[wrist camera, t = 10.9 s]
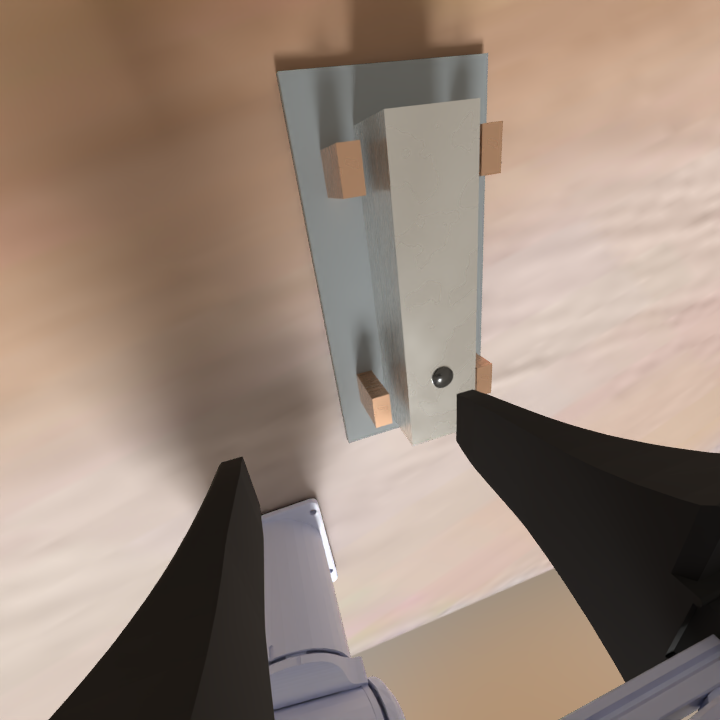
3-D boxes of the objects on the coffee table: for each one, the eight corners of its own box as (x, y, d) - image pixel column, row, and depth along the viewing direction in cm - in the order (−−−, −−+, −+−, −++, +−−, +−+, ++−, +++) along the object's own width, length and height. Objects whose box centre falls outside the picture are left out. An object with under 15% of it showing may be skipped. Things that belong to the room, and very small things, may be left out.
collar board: (475, 398, 26) (505, 425, 23) (347, 438, 24) (362, 473, 21) (481, 56, 17) (533, 28, 14) (276, 74, 15) (285, 45, 12)
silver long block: (353, 126, 16) (384, 108, 13) (431, 116, 17) (482, 97, 14) (387, 409, 24) (413, 447, 20) (441, 393, 25) (475, 426, 21)
